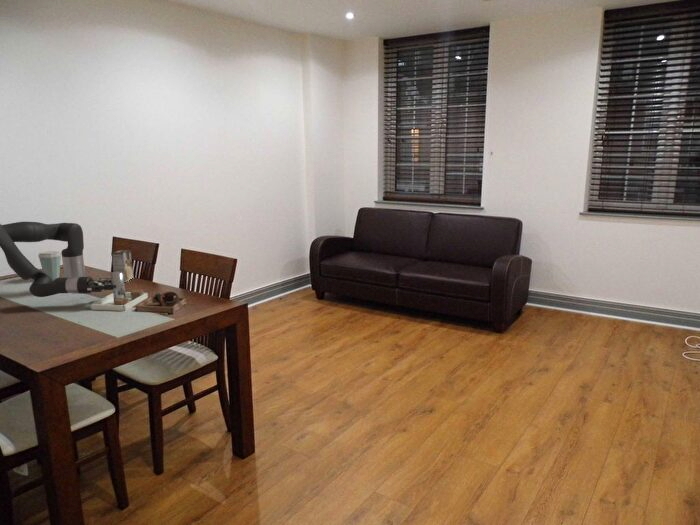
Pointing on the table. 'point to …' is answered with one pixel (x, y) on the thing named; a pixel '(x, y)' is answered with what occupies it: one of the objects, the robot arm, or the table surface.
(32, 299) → the table surface
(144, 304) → the brown wooden tray
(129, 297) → the tray
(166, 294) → the pottery mug
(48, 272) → the disposable coffee cup
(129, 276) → the coffee box
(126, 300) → the walnut block
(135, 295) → the walnut block
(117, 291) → the part cylinder
